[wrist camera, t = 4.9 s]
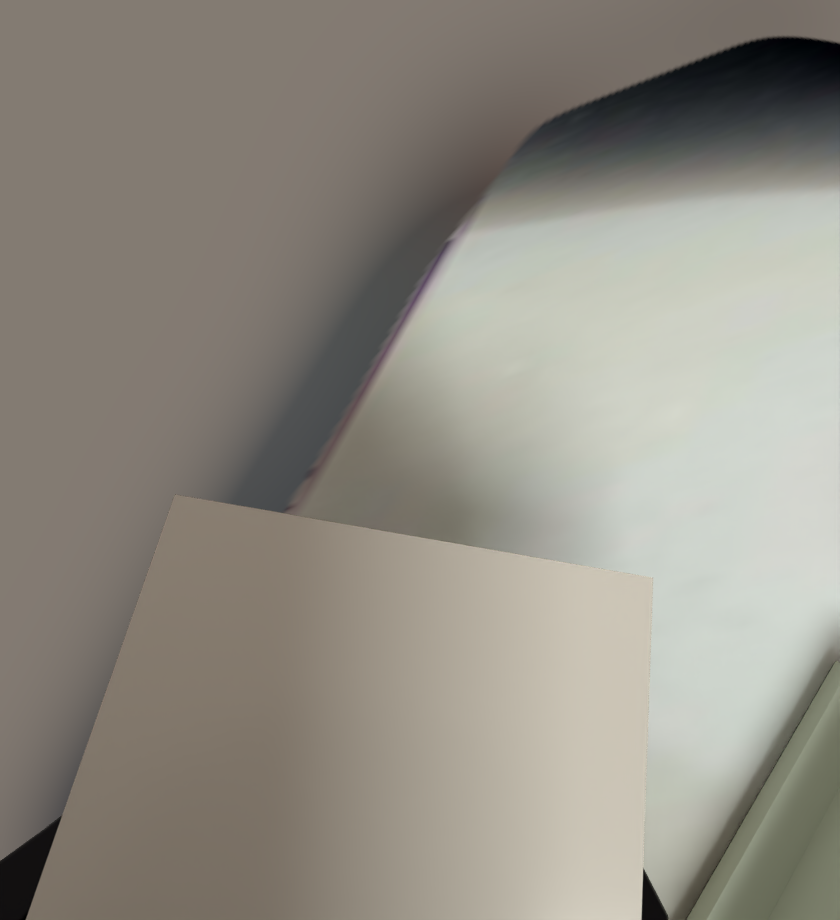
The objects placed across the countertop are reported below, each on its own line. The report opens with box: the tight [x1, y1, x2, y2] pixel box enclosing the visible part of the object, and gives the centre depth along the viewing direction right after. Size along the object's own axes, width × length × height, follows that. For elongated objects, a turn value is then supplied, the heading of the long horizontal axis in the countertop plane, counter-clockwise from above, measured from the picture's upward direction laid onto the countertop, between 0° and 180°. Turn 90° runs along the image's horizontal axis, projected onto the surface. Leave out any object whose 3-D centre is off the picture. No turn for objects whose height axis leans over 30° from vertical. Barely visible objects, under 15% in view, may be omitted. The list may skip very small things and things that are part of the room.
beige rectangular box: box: [26, 494, 653, 920], centre depth 9 cm, size 6×4×13 cm, turn 169°
